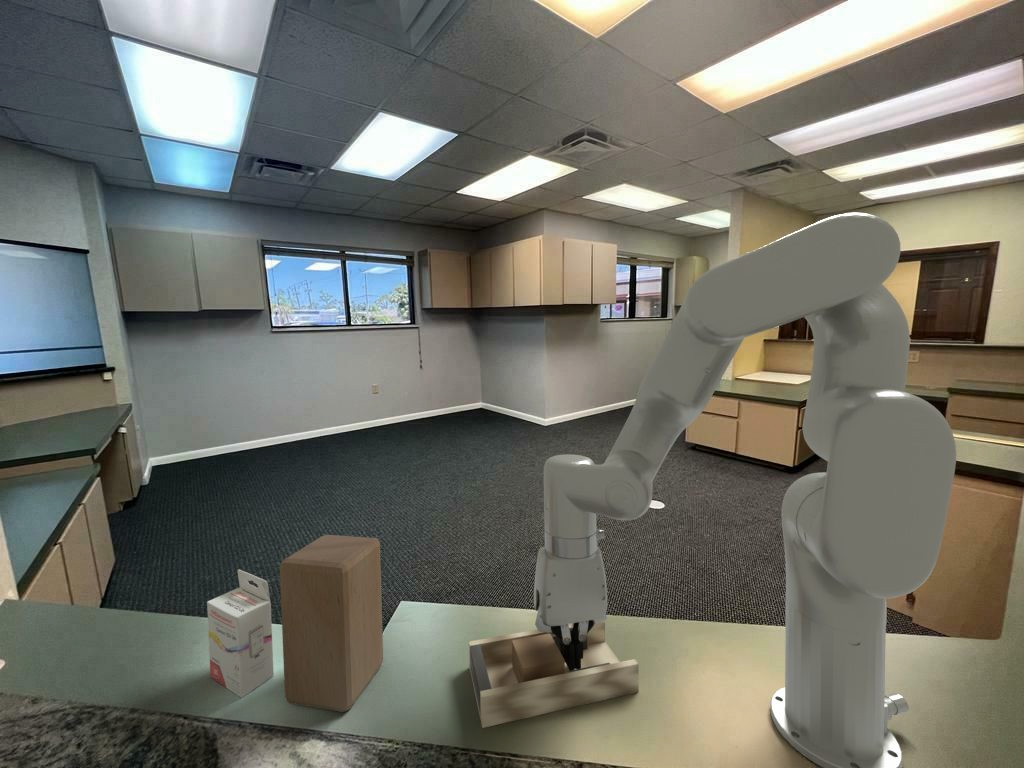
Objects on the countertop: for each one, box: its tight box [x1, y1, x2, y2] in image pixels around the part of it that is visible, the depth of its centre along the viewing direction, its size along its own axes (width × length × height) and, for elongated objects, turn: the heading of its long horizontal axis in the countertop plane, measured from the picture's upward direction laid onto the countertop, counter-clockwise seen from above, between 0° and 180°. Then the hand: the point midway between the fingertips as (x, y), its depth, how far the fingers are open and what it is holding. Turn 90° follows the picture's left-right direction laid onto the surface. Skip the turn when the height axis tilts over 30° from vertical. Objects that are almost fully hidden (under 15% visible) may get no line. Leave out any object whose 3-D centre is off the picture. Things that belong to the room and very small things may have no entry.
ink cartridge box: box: [206, 568, 275, 698], centre depth 61 cm, size 9×5×15 cm, turn 62°
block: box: [279, 534, 384, 713], centre depth 60 cm, size 10×10×20 cm
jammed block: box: [512, 634, 565, 683], centre depth 60 cm, size 6×6×4 cm
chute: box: [468, 620, 640, 729], centre depth 60 cm, size 22×11×4 cm, turn 104°
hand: (571, 663), depth 61 cm, fingers closed
